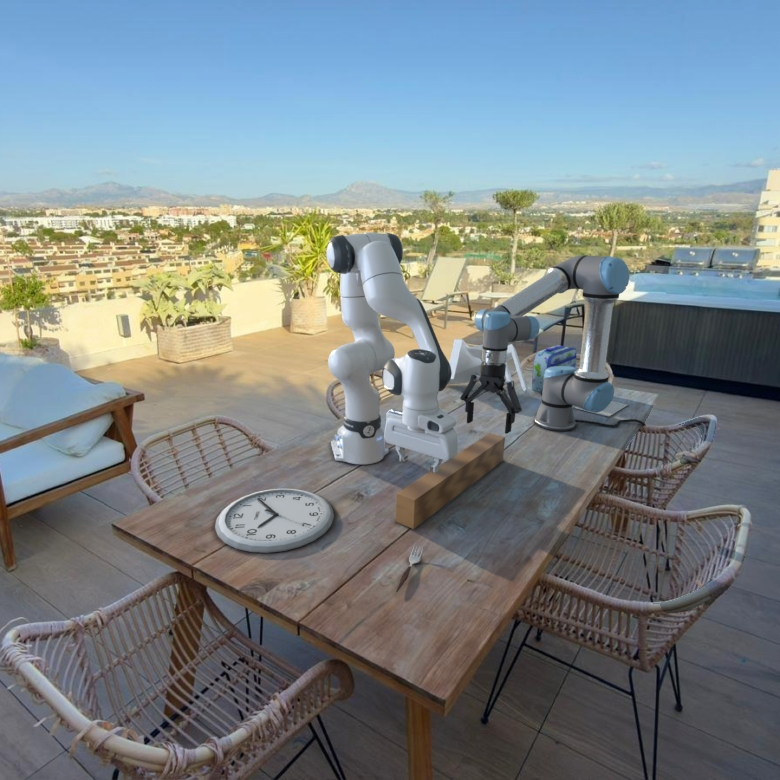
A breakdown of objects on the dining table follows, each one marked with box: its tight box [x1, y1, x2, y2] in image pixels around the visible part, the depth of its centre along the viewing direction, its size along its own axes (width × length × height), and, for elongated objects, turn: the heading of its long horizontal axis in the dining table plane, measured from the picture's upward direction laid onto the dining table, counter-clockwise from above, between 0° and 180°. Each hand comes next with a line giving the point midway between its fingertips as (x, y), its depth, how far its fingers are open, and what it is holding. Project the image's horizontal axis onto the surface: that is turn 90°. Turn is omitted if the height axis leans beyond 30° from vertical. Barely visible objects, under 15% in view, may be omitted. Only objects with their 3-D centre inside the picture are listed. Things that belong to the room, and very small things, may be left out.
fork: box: [395, 543, 425, 593], centre depth 115 cm, size 3×16×2 cm, turn 160°
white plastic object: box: [447, 338, 531, 397], centre depth 245 cm, size 37×45×31 cm
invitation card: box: [573, 400, 629, 418], centre depth 226 cm, size 21×1×15 cm
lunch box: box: [531, 345, 577, 394], centre depth 245 cm, size 26×11×21 cm, turn 134°
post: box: [395, 433, 506, 530], centre depth 153 cm, size 52×6×8 cm, turn 143°
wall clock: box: [214, 488, 335, 554], centre depth 135 cm, size 30×2×30 cm
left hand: (418, 466), depth 134 cm, fingers open, 8 cm apart
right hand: (488, 427), depth 167 cm, fingers open, 13 cm apart
